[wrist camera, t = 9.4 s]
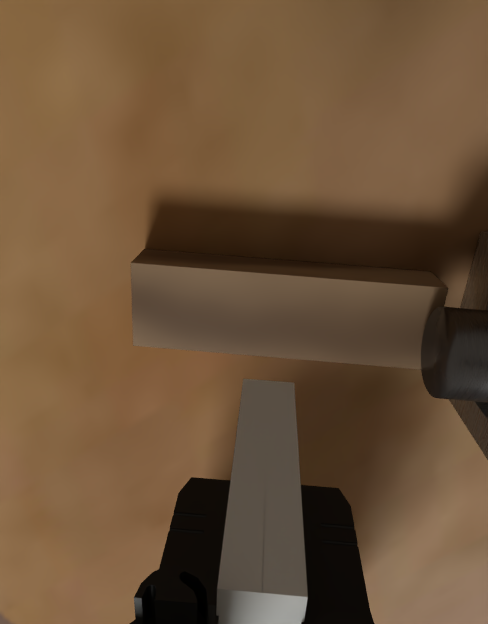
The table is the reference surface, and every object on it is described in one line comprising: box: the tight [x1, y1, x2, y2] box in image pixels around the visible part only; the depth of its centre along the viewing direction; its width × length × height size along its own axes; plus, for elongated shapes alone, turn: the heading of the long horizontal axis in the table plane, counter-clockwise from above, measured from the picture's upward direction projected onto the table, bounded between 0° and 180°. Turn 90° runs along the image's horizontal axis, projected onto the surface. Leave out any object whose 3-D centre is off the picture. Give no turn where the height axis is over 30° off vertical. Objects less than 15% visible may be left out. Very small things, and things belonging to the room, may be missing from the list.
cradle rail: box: [131, 249, 448, 370], centre depth 24 cm, size 4×15×3 cm, turn 86°
